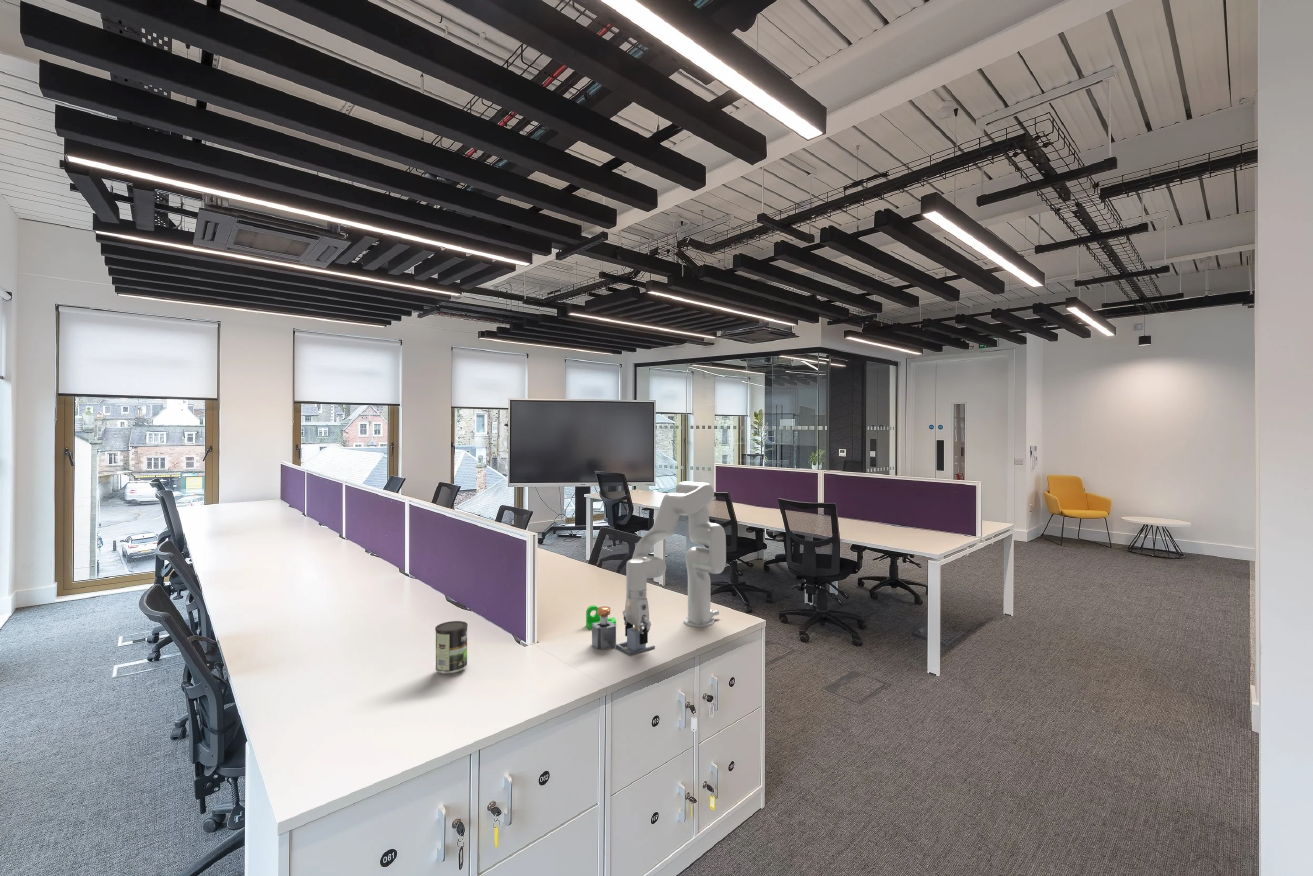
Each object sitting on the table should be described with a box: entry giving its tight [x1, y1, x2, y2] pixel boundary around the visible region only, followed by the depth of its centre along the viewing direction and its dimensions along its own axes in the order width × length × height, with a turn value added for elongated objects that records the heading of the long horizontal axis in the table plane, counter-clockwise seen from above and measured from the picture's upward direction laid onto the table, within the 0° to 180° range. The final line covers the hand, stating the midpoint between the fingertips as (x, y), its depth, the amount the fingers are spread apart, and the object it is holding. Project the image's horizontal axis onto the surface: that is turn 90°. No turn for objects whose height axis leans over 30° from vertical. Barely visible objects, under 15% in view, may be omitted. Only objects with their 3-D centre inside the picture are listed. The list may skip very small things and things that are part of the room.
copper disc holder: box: [591, 622, 617, 651], centre depth 202 cm, size 8×8×8 cm
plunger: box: [598, 606, 611, 627], centre depth 202 cm, size 5×5×8 cm
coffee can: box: [434, 620, 469, 674], centre depth 183 cm, size 10×10×14 cm
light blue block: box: [626, 625, 647, 651], centre depth 199 cm, size 5×5×8 cm
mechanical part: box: [585, 604, 617, 630], centre depth 225 cm, size 12×6×8 cm, turn 108°
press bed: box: [611, 641, 656, 657], centre depth 199 cm, size 13×12×2 cm
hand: (636, 639), depth 199 cm, fingers open, 9 cm apart
